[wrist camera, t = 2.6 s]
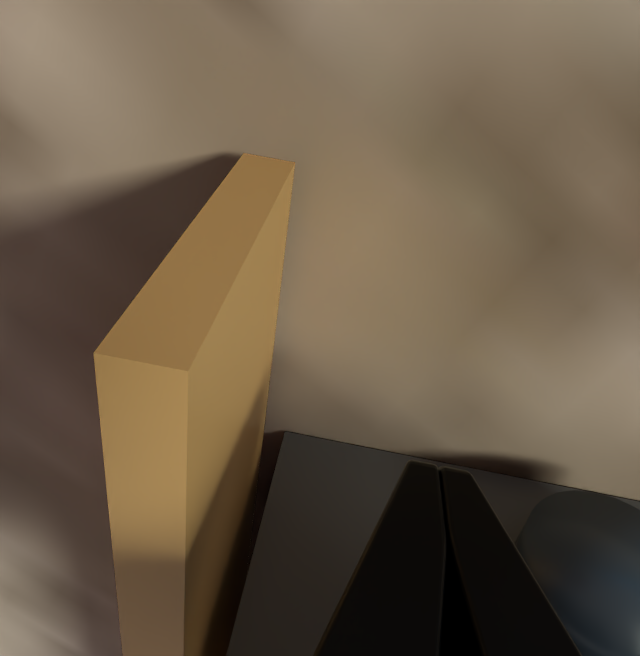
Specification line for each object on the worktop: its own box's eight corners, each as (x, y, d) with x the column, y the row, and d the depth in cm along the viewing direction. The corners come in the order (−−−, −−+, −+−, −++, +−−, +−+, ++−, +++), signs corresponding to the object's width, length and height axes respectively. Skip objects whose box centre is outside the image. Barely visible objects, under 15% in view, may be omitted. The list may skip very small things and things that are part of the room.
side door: (233, 713, 20) (182, 932, 15) (197, 705, 20) (137, 922, 16) (301, 163, 9) (200, 373, 5) (224, 149, 9) (57, 346, 5)
